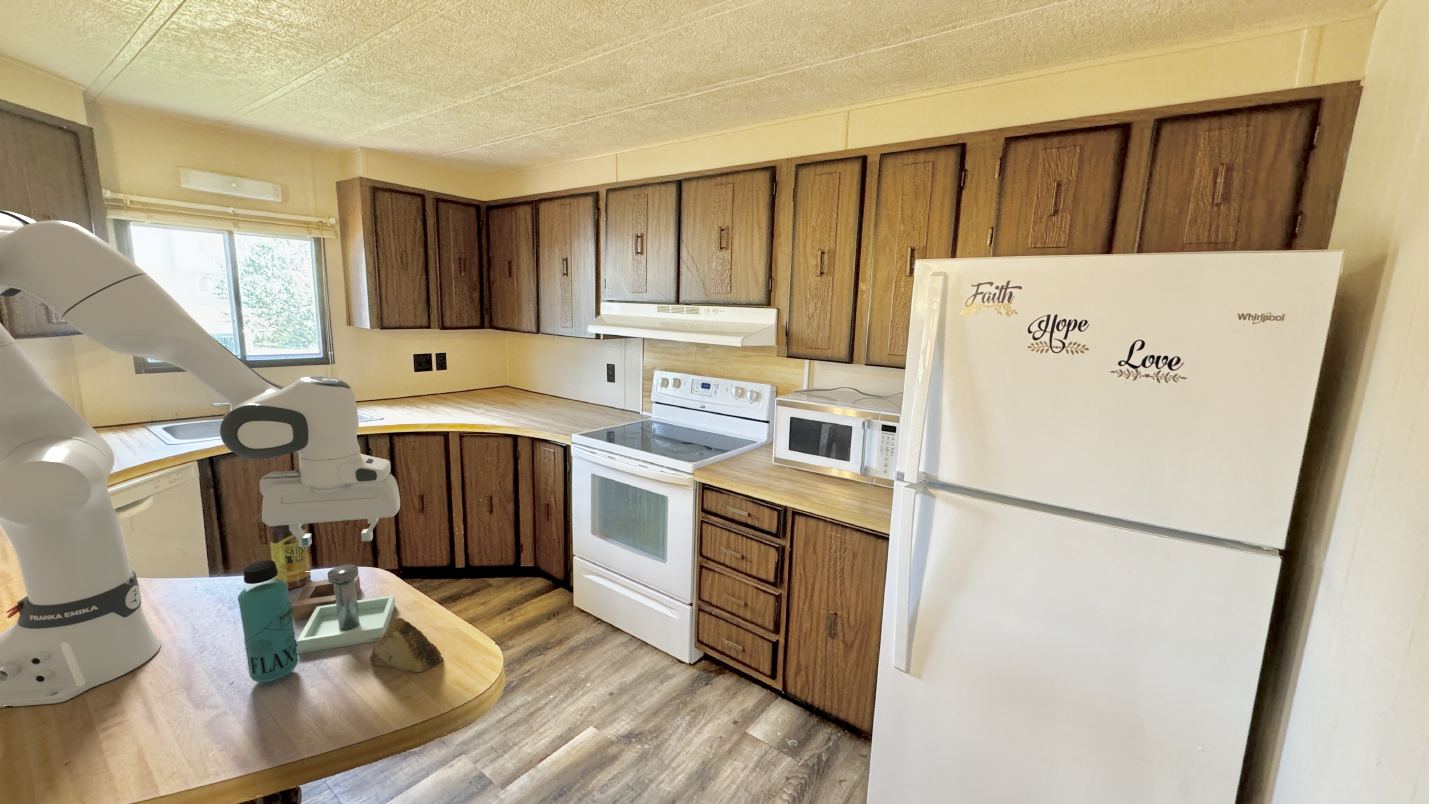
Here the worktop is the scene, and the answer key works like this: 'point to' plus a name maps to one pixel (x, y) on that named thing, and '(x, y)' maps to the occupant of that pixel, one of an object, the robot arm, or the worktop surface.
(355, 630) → the dish
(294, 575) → the sauce bottle
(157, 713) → the worktop surface
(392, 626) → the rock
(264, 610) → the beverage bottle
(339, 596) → the pin
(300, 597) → the collar
